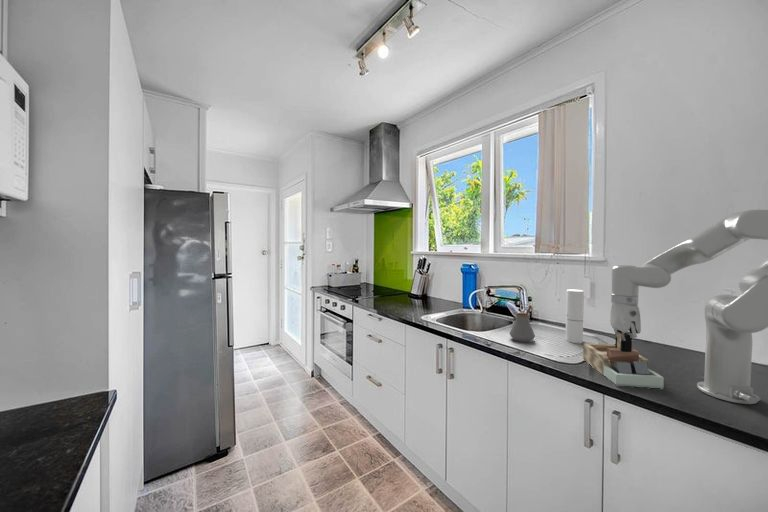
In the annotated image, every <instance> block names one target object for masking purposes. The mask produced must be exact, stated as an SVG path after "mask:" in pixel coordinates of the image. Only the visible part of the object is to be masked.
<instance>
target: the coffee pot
mask: <svg viewBox="0 0 768 512" xmlns="http://www.w3.org/2000/svg"><path fill="white" fill-rule="evenodd" d="M531 309H534V306H532V305H529V306H528V308H527V309H526V312H525V313H524V312H523V313H522V312H516V313H515V316H516V319H515V321H514V323H513V325H512V327H511V328H510V332H509V335H510V337H511V338H512V339H513V340H514V341H516V342H519V343H530V342H532V341H533V340H534V339H535V337H536V334H535V331H534V330H533V327H532V326H531V323H530V320H529V318H530V314H529V313H530V311H531Z"/></svg>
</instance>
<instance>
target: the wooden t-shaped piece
mask: <svg viewBox="0 0 768 512" xmlns="http://www.w3.org/2000/svg"><path fill="white" fill-rule="evenodd" d="M626 335H629V334H626ZM621 340H622V332H617V348H607V357H608V358H609V360H610V361H619V362H631V361H639V355H640V351H639V350H637V349H635V348H632V351H631V352H622V351H621Z"/></svg>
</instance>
